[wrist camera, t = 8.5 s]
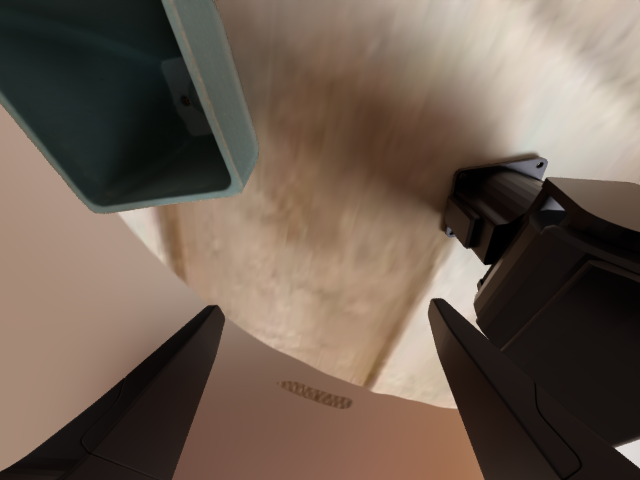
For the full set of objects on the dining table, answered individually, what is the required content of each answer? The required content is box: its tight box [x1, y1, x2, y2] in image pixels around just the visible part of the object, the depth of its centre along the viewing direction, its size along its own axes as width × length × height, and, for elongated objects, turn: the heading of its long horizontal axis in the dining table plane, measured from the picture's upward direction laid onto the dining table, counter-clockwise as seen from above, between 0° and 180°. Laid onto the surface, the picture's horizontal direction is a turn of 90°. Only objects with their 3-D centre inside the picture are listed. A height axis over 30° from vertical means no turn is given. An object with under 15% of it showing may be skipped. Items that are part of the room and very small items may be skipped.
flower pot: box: [0, 0, 259, 214], centre depth 13 cm, size 9×9×9 cm
